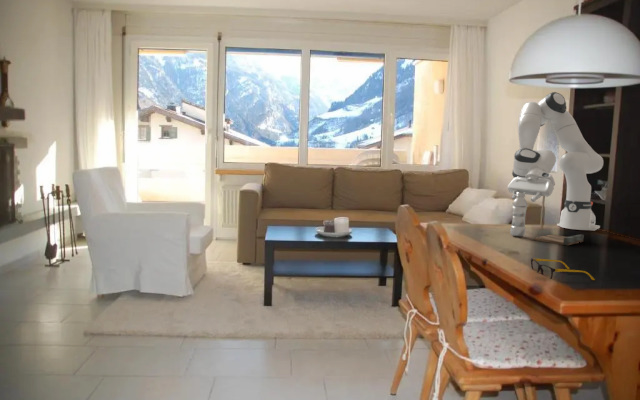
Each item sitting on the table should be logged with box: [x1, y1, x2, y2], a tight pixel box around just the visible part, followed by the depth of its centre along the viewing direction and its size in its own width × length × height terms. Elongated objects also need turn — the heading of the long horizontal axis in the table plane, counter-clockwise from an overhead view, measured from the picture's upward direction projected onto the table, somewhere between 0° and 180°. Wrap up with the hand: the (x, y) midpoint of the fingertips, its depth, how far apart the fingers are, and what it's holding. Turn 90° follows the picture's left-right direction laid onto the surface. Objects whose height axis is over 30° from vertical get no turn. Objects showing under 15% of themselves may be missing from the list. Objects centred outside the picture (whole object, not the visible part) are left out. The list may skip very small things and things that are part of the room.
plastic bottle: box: [509, 192, 528, 238], centre depth 230 cm, size 6×7×20 cm
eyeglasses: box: [530, 257, 596, 281], centre depth 163 cm, size 14×14×4 cm
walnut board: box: [534, 233, 585, 246], centre depth 223 cm, size 16×14×3 cm
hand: (522, 199), depth 235 cm, fingers open, 8 cm apart
